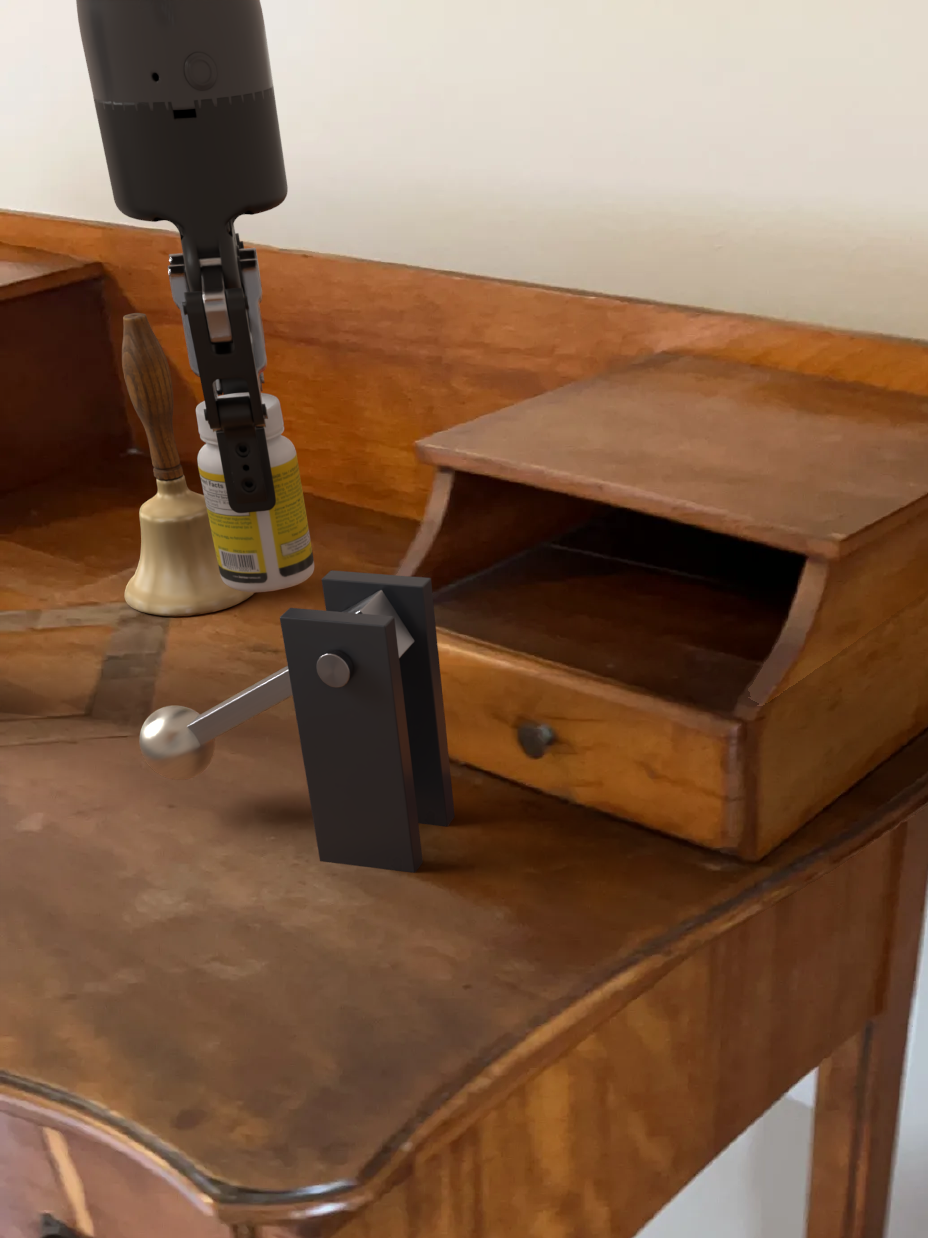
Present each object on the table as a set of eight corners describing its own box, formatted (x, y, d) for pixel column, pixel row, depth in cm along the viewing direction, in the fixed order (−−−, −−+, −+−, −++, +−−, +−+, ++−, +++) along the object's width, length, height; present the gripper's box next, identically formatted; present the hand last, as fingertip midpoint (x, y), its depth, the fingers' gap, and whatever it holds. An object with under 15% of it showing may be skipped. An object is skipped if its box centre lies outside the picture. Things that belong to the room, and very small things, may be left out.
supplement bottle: (307, 555, 80) (281, 385, 75) (322, 586, 76) (296, 410, 71) (215, 568, 79) (182, 396, 74) (226, 600, 75) (192, 422, 70)
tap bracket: (273, 912, 66) (218, 628, 58) (345, 822, 72) (305, 553, 64) (447, 935, 64) (415, 645, 56) (506, 841, 70) (485, 567, 62)
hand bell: (247, 614, 92) (196, 329, 82) (110, 619, 92) (43, 335, 83) (269, 564, 99) (224, 294, 89) (142, 568, 99) (82, 299, 89)
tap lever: (158, 803, 67) (111, 742, 66) (192, 769, 70) (147, 710, 68) (396, 677, 60) (349, 606, 59) (425, 644, 63) (380, 575, 61)
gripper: (101, 70, 70) (178, 456, 80) (79, 108, 58) (172, 550, 69) (267, 60, 71) (321, 442, 81) (277, 96, 59) (338, 533, 70)
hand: (252, 490), depth 75 cm, fingers closed on supplement bottle, 4 cm apart
